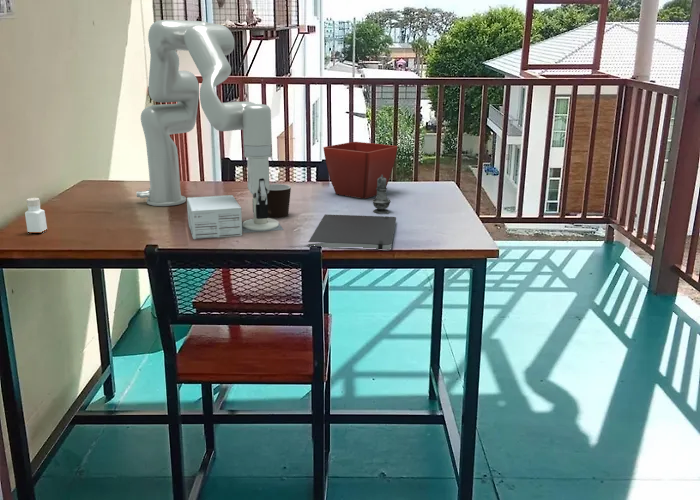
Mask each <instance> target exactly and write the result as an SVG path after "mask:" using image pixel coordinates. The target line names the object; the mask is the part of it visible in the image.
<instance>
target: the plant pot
mask: <svg viewBox="0 0 700 500" xmlns="http://www.w3.org/2000/svg"><path fill="white" fill-rule="evenodd" d="M322 148H323V153H324V160H325V163H326V167H327V173H328V176H329V179H330V182H331V184H332V187H333V190H334V192H335V195H338V194H339V195H338V196H344V195H345V197H350V196H351V197H352V198H356V197H357V199H362V198H364V199H368V198H372V197H375V196H377V190H376V188H377V180H378V178H380V177H381V175H383V177H384V178H386V188H387V186H388V185H389V184H388V183H389V181H390V177H391V176H392V171H393V169H394V164H395V161H396V156H397V151H398V145H391V144H390V145H389V144H382V143H381V144H380V143H371V142H363V141H360V142H359V141H351V142H350V141H349V142H344V143H340V144H339V143H338V144H335V145H334V144H332V145H329V146H328V145H327V146H323V147H322ZM351 197H350V198H351Z"/></svg>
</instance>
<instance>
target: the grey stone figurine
mask: <svg viewBox="0 0 700 500" xmlns="http://www.w3.org/2000/svg"><path fill="white" fill-rule="evenodd" d="M376 190H377V195H376V197H375V199H372V200H371V202H372V205H373V207H374V208H375V209H373V210H372V213H374V214H379V215H385V214H389V213H390V212H391V211H390V210H389V209H388V208H389V207H390V203H391V199H389V198H388V196H387V191H388V188H387V187H386V178H384V177H383V175H381V177H380V178H378V180H377V188H376Z"/></svg>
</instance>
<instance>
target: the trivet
mask: <svg viewBox="0 0 700 500" xmlns="http://www.w3.org/2000/svg"><path fill="white" fill-rule="evenodd" d="M243 222H244V221H242V233H244V234H247V233H258V232H259V233H261V232H264V231H252V230H247V229H244V228H243ZM274 231H285V230H284V228H283V227H282V225H281V224H280V223H279V226H278V227H277V228H275V229H272V230H266V231H265V232H274Z"/></svg>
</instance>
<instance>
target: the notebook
mask: <svg viewBox="0 0 700 500" xmlns="http://www.w3.org/2000/svg"><path fill="white" fill-rule="evenodd" d="M396 222H397V217H396V216H388V215H387V216H382V215H380V216H379V215H378V216H377V215H352V214H347V215H346V214H324V215H323V217H322V218H321V220H320V222H319V224H318V225H317V227H316V229H315V230H314V231H313V233H312V234H311V236H310V238H309V240H308V248H311V247H310V246H314V245H315V246H322V247H363V248H376V249H390V248H391V249H392V246H391V245H393V241H394V240H393V239H394V235H393V234H394V233H395V229H396ZM391 249H390V250H391Z"/></svg>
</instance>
